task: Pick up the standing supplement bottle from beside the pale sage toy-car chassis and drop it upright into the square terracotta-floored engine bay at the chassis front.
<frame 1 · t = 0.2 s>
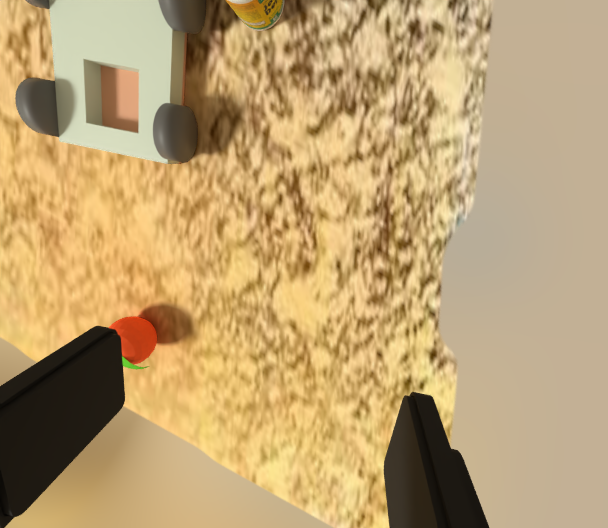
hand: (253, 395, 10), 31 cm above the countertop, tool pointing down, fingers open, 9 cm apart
supplement bottle: (261, 3, 33), on the countertop
chassis: (129, 64, 36), on the countertop
tomato: (148, 330, 48), on the countertop
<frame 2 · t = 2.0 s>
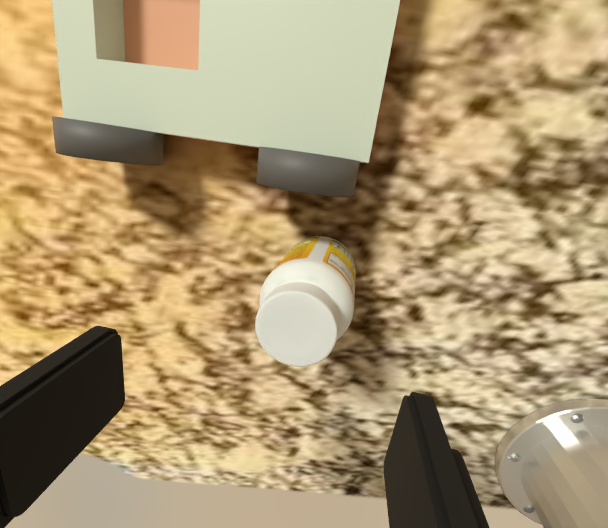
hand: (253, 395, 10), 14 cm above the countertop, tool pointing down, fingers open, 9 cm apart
supplement bottle: (320, 268, 24), on the countertop
chassis: (232, 27, 20), on the countertop
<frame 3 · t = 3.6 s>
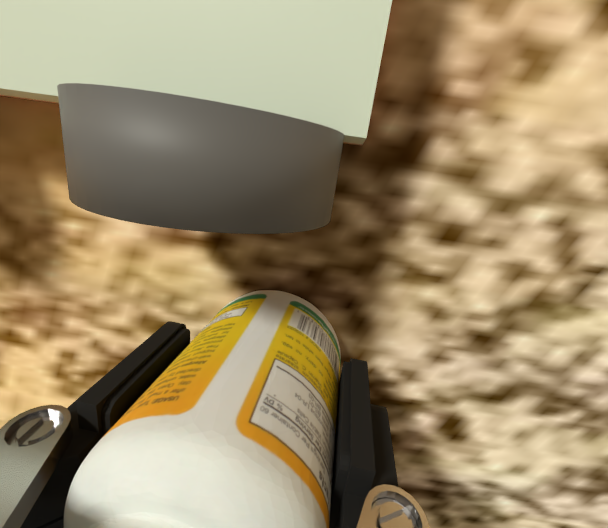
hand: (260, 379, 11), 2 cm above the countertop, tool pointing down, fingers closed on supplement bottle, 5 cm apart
supplement bottle: (275, 343, 13), on the countertop, touching gripper
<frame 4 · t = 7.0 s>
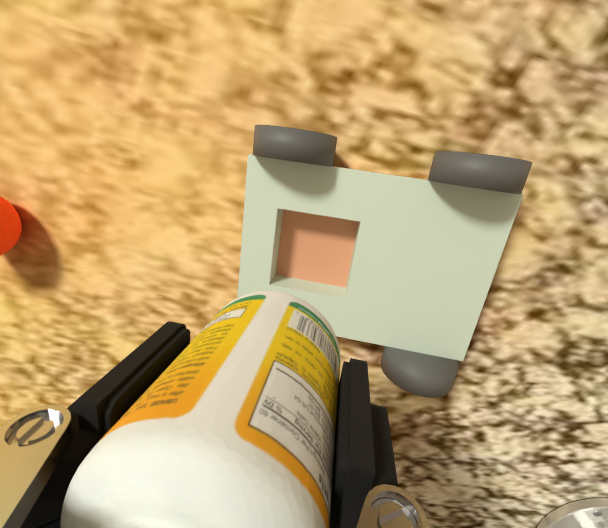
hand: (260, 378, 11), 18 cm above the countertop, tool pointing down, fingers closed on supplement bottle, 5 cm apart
supplement bottle: (275, 344, 13), point 16 cm above the countertop, touching gripper
chassis: (360, 253, 28), on the countertop
tomato: (10, 221, 32), on the countertop
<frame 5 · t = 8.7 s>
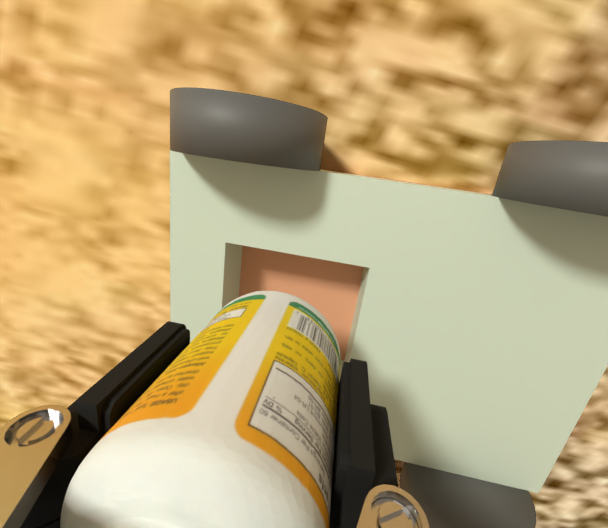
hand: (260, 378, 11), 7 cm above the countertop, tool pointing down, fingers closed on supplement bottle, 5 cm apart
supplement bottle: (274, 344, 13), point 5 cm above the countertop, touching gripper
chassis: (367, 308, 17), on the countertop
when the fingers open (4 cm above the countertop, at t = 10.2 s): supplement bottle drops 2 cm, resting on chassis.
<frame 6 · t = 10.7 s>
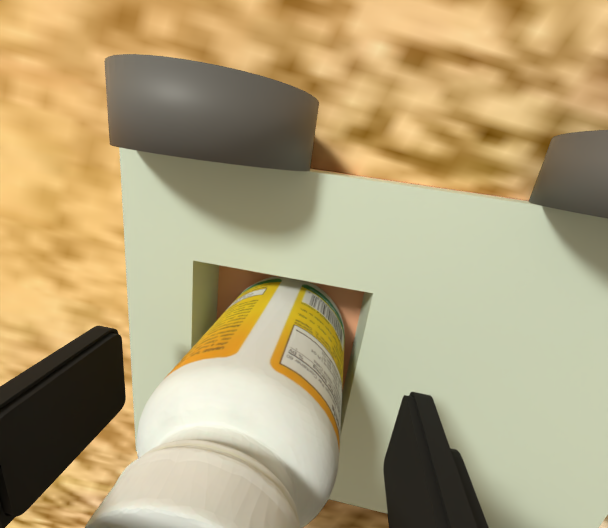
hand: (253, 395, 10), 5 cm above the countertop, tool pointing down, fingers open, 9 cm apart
supplement bottle: (287, 324, 15), resting on chassis
chassis: (369, 334, 15), on the countertop
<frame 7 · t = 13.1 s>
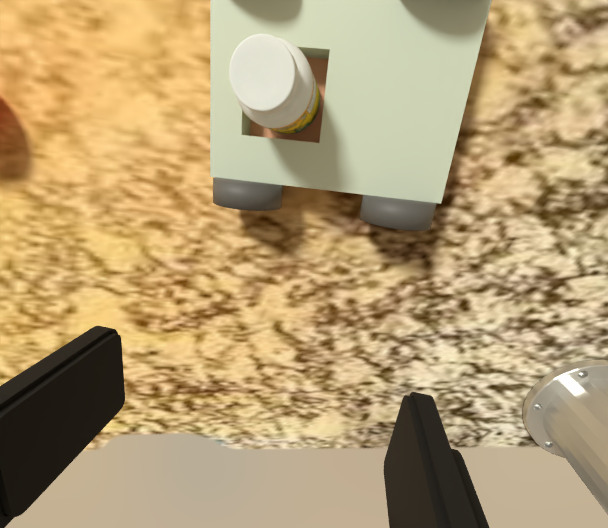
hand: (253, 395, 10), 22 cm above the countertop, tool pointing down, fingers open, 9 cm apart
supplement bottle: (290, 102, 27), resting on chassis
chassis: (334, 105, 27), on the countertop
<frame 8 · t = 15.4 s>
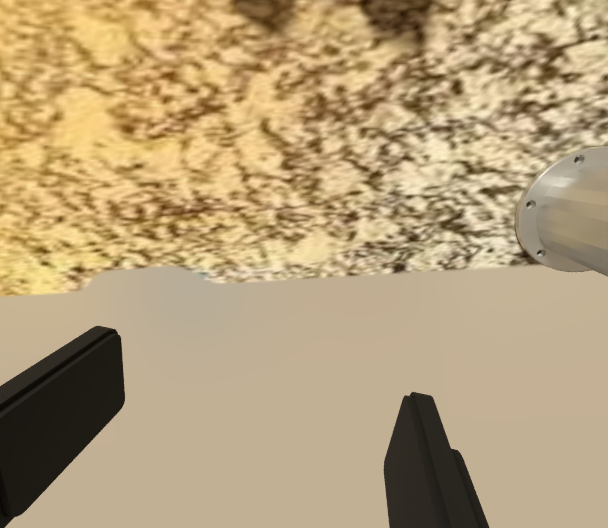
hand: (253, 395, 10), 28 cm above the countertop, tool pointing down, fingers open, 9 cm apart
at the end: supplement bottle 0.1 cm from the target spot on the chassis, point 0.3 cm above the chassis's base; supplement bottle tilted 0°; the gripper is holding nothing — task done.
